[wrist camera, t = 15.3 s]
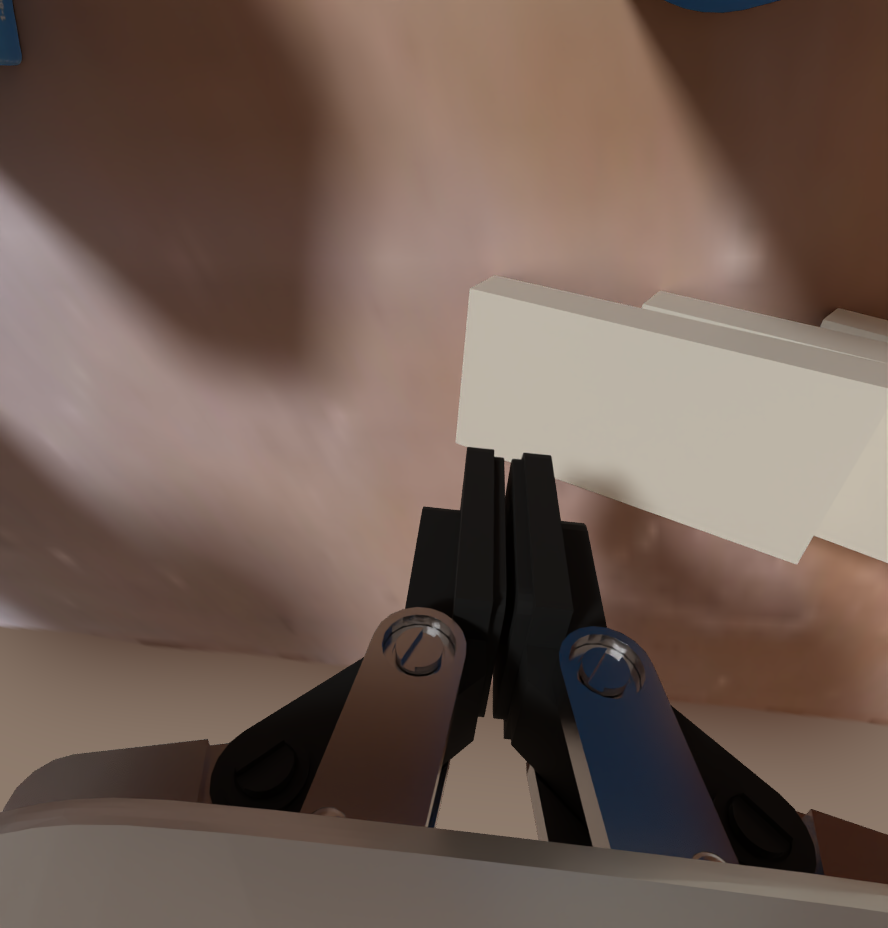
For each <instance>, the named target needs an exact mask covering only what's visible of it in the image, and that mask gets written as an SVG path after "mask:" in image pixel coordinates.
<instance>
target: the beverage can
mask: <svg viewBox="0 0 888 928" xmlns="http://www.w3.org/2000/svg"><path fill="white" fill-rule="evenodd" d="M665 1H666V2H669V3H672V4H674V5H677V6H679V7H682V8H685V9H690V10H695V11H700V12H717V13H724V12H732V11H739V10H745V9H749V8H753V7H756V6H760V5H764V4H768V3H771V2H775V1H779V0H665Z"/></svg>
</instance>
